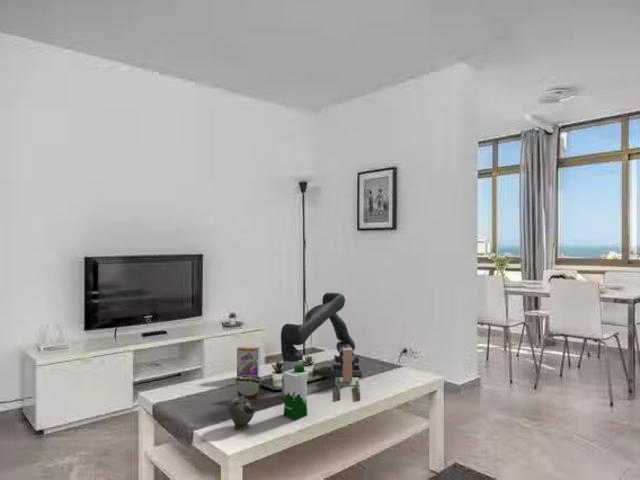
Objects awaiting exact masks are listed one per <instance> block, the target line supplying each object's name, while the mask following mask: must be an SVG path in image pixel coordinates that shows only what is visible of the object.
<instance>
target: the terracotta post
mask: <svg viewBox="0 0 640 480" xmlns="http://www.w3.org/2000/svg"><path fill="white" fill-rule="evenodd" d="M343 382H352V348H343Z"/></svg>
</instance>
